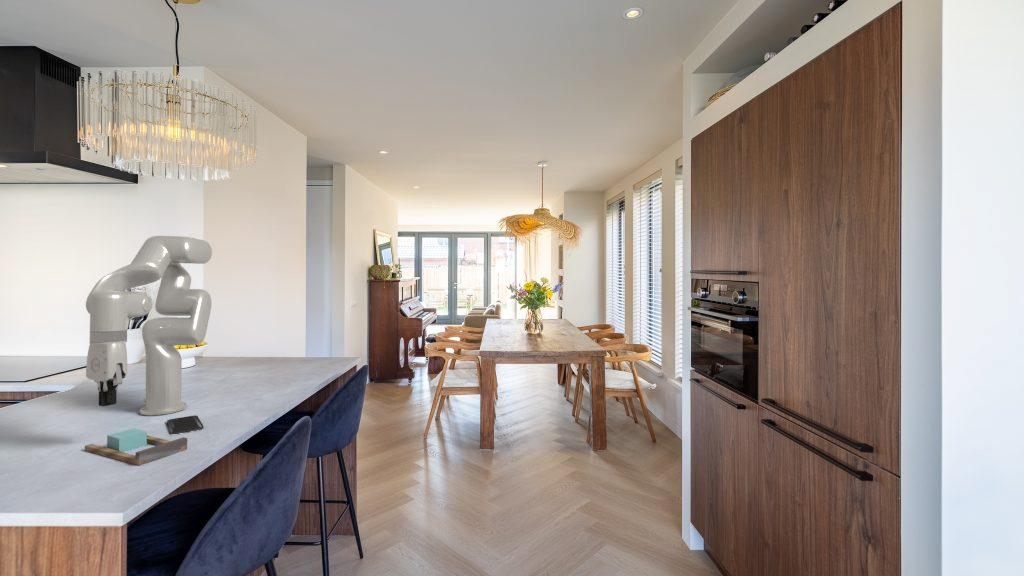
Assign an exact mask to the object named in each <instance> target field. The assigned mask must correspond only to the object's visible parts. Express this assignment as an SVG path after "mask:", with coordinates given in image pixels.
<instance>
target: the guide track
mask: <svg viewBox="0 0 1024 576" xmlns="http://www.w3.org/2000/svg"><path fill="white" fill-rule="evenodd" d="M149 443H151V444H150V445H153V444H154V446H152V447H148V448H146V449H142V450H139V451H135V454H132V453H127V452H121V451H117V450H113V449H110V448H107V446H106V447H105V446H102V445H98V444H95V443H90V444H87V445H84V451H86V452H90V453H94V454H96V455H100V456H103V457H107V458H111V459H114V460H119V461H121V462H124V463H129V464H132V465H137V466H139V467H140V466H142V464H143V465H146V464H149V463H151V462H154V461H157V460H160V459H162V458H166V457H169V456H172V455H175V454H178V453H181V452H183V450H184V451H186V449H187V450H188V437H179V438H177V439H174V440H169V439H164V438H160V437H156V436H153V435H152V436H150V435H148V434H147V444H149ZM180 451H181V452H180ZM177 452H178V453H177ZM174 453H175V454H174ZM171 454H172V455H171ZM168 455H169V456H168ZM145 463H146V464H145Z"/></svg>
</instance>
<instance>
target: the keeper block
mask: <svg viewBox="0 0 1024 576" xmlns="http://www.w3.org/2000/svg"><path fill="white" fill-rule="evenodd" d="M147 435H148V433H147V431H146V430H141V429H138V428H135V427H133V428H130V429H127V430H122V431H118V432H114V433H110V434H107V435H106V438H107V439H106V445H107V446H106V448H110V449H113V450H117V451H121V452H125V451H127V452H130V451H133V450H132V449H134V450H136V448H137V449H140V448H139V447H141V448H143V447H142V446H144V447H147V446H146V445H147V444H148V443H147ZM129 450H130V451H129ZM125 453H126V452H125Z"/></svg>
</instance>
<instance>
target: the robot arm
mask: <svg viewBox="0 0 1024 576" xmlns="http://www.w3.org/2000/svg"><path fill="white" fill-rule="evenodd" d="M212 255H213V249H212V247H211V245H210V243H209V242H208V241H206V240H203V239H199V238H195V237H191V236H190V237H189V236H179V235H176V236H175V235H154V236H153V235H152V236H150V237H148V238H147V239H146V240H145V241H144V243H143V244H142V245H141V247H140V248H139V250H138V252H137V253H136V255H135V256H134V258H133V260H132V261H131V263H129V264H127V265H125V266H123V267H121V268H118V269H116V270H114V271H112V272H110V273H108V274H107V275H104V276H103V277H102V278H100V279H98V281H97V282H96V283H95V285H94V286H93V287H92V289H91V291H90V292H89V293H88V296H87V298H86V301H85V309H86V311H87V313H88V314H89V342H88V343H89V346H88V349H87V350H88V351H87V356H86V367H85V370H86V371H85V377H86V378H87V379H89V380H93V382H94V383H96V384H97V390H98V406H99V407H108V406H112V405H113V406H114V405H116V404H117V396H118V395H117V393H118V392H117V391H118V388H119V386H120V385H122V384H123V379H125V378H126V377H127V375H128V352H127V344H126V343H127V342H128V318H140V317H144V316H146V315H148V314H149V313H150V312H151V310H152V308H153V300H152V298H151V296H149V294H147V293H145V292H142V291H127V290H129V289H133V288H137V287H141V286H145V285H150V284H152V283H156V282H157V281H159V280H160V284H159V287H158V290H157V291H158V292H157V295H156V298H155V305H154V307H155V311H156V312H157V313H158V314H159V315H162V316H165V317H155V318H151V319H148V320H147V321H146V322H145V323H143V324H142V325H143V326H142V328H141V336H142V340H143V345H144V349H145V350H144V351H145V397H144V398H143V399H142V402H143V403H145V406H143V407H142V408H140V409H139V414H140V415H143V416H163V415H169V414H173V413H178V412H180V411H183V410H185V409H187V408H188V404H187V402H184V401H182V375H183V374H182V372H183V371H182V367H183V365H182V363H183V362H182V361H183V359H182V355H181V353H180V352H179V350H178V349H177V348H176V347H175V346H196V345H200V344H201V343H203V341H204V340H205V338H206V335H207V331H208V325H209V320H210V316H211V315H210V314H211V309H212V298H211V294H209V291H207V290H204V289H202V288H201V289H200V288H191V285H192V276H191V274H190V273H189V272H188V271H187V270H186V269H185V268H184V267H183V266H182V265H181V264H198V265H199V264H200V265H202V264H207V263H208V262H209V261H210V260H211V259H212ZM166 316H167V317H166ZM168 316H169V317H168ZM170 316H171V317H170Z"/></svg>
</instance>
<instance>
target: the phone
mask: <svg viewBox="0 0 1024 576" xmlns="http://www.w3.org/2000/svg"><path fill="white" fill-rule="evenodd" d="M166 425H167V427H168V430H169V433H170V432H171V433H170V435H171V434H177V435H181V434H180V433H183V434H186V433H185V432H188V433H192V432H191V431H194V432H198V431H197V430H199V431H202V429H203V430H204V424H203V422H202V421H201V420H200V418H199V416H198V415H196V414H195V415H189V416H184V417H183V416H182V417H175V418H170V419H167V420H166Z"/></svg>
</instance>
